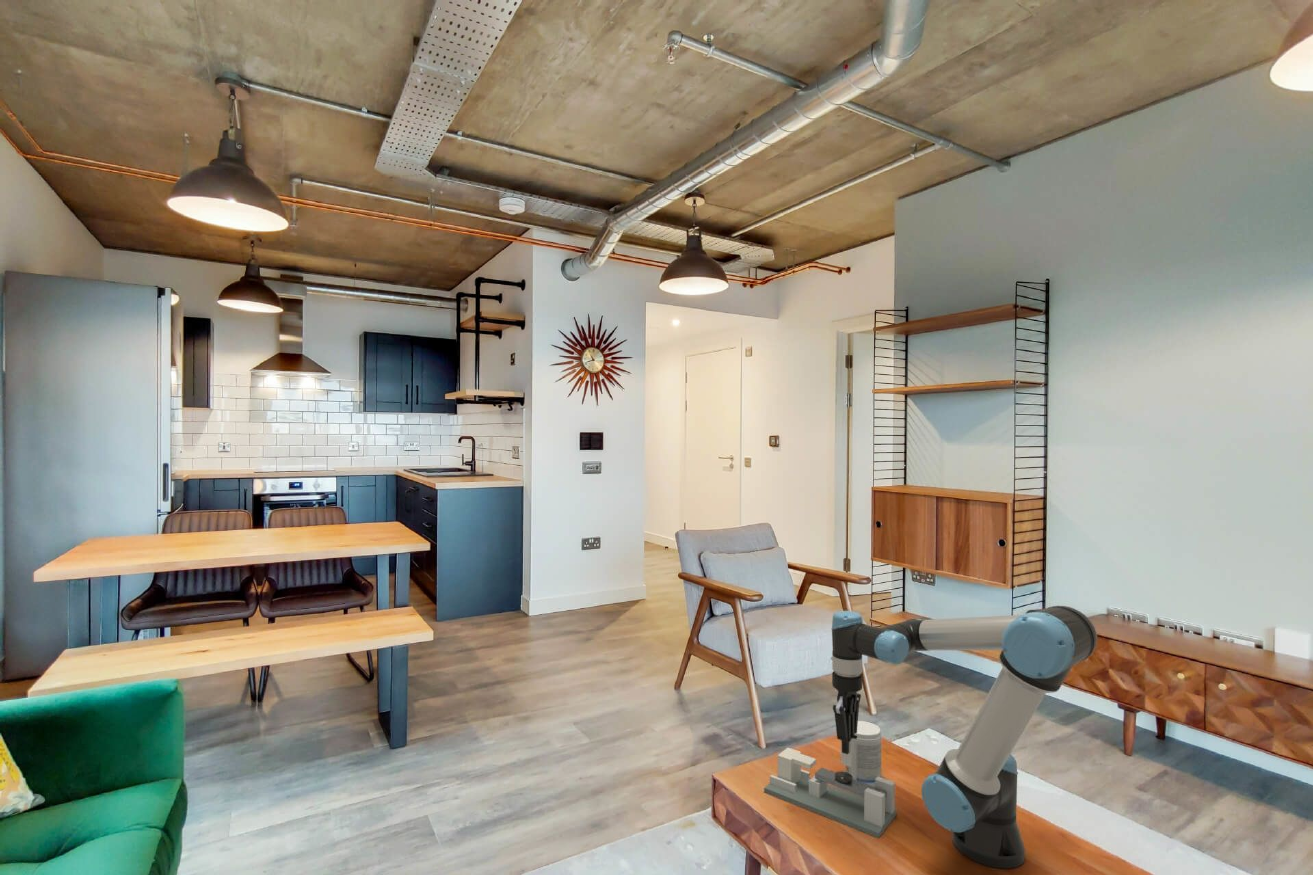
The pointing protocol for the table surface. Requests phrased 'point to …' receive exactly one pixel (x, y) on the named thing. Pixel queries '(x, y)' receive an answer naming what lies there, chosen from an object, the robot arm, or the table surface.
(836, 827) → the table surface
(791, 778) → the block
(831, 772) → the grey long flat bar
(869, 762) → the supplement tub
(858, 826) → the mount
